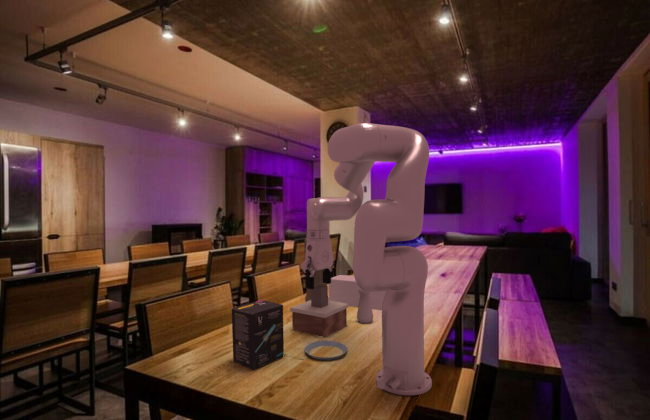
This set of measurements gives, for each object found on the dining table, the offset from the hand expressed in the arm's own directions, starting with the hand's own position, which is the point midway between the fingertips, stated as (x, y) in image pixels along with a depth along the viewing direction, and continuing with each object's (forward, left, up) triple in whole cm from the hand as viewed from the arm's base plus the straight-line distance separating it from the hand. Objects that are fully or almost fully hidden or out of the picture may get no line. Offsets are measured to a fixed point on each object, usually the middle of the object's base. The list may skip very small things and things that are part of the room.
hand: (318, 285), depth 121 cm
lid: (0, 0, -8) cm, 8 cm away
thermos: (+14, +11, -15) cm, 23 cm away
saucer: (-16, -14, -15) cm, 26 cm away
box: (0, 0, -15) cm, 15 cm away
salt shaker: (+14, -10, -15) cm, 23 cm away
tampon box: (-28, 0, -15) cm, 32 cm away
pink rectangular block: (+37, +1, -15) cm, 40 cm away
